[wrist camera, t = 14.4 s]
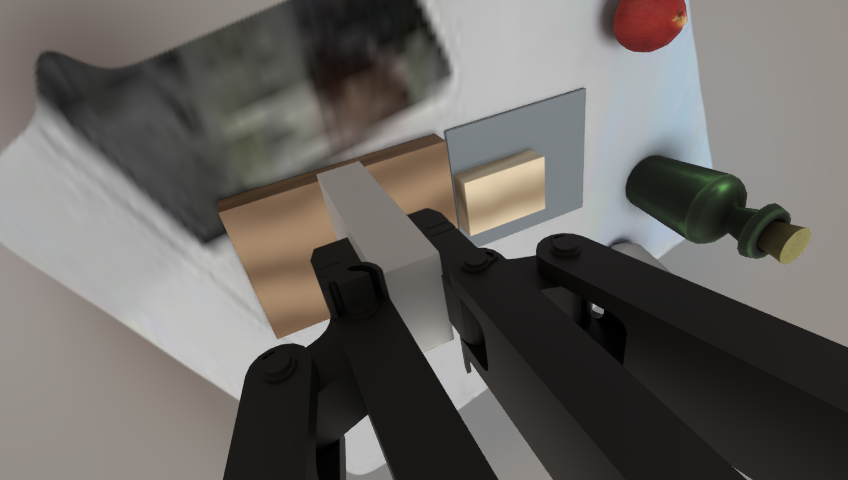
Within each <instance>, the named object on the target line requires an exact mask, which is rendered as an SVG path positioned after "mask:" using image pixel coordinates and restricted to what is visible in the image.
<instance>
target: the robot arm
mask: <svg viewBox="0 0 848 480" xmlns="http://www.w3.org/2000/svg"><path fill="white" fill-rule="evenodd" d="M316 175H317V178H318V181H319V184H320V187H321V191H322V194H323V197H324V200H325V203H326V206H327V209H328V213H329V216H330V219H331V222H332V225H333V228H334V232H335V235H336V238H337V241H335V242H332V243H329V244H326V245H324V246H321V247H318V248H315V249H314V250H313V253H312V256H311V259H310V261H311V264H312V267H313V270H314V272H315V275H316V278H317V281H318V283H319V286H320V289H321V292H322V294H323V297H324V300H325V302H326V305H327V308H328V310H329V313H330V316H331V318H330V323H329V325H328V327H327V329H326V330H325V332H324V333H323V334H322V335H321V336H320V337H319V338H318V339H317V340H315V341H314V342H313V343H312V344H310V345H309V346H307V347H306V348H305V347H304V346H302V345H298V344H294V343H292V344H282V345H279V346H276V347H274V348H271V349H269V350H267V351H266V352H264V353H263V354H261V355H260V356H258V358H257V359H256V360H255V361H254V362H253V363H252V364H251V365H250V367H249V369H248V371H247V374H246V376H245V380H244V385H243V389H242V394H241V398H240V403H239V408H238V413H237V417H236V422H235V426H234V431H233V436H232V440H231V445H230V449H229V454H228V459H227V463H226V468H225V472H224V477H223V480H346V452H345V436H344V434H345V433H346V432H348V431H349V430H350V429H351V428H352V427H354V426H355V425H356V424H357V423H358V422H359V421H361V420H362V419H363V418H364V417H365V416H366V415H368V416H369V418H370V421H371V424H372V426H373V429H374V431H375V434H376V437H377V439H378V442H379V444H380V447H381V450H382V452H383V455H384V457H385V460H386V463H387V465H388V468H389V470H390V473H391V475H392V478H393V480H498V478H497V477H496V475H495V473H494V472H493V470H492V468H491V467H490V465H489V463H488V461H487V460H486V458H485V456H484V455H483V453H482V451H481V450H480V448H479V447H478V445H477V443H476V441H475V440H474V438H473V436H472V435H471V433H470V432H469V430H468V428H467V426H466V425H465V423H464V421H463V420H462V418H461V416H460V415H459V413H458V411H457V410H456V408H455V406H454V405H453V403H452V401H451V400H450V398H449V396H448V395H447V393H446V391H445V389H444V388H443V386H442V384H441V383H440V381H439V379H438V378H437V376H436V374H435V373H434V371H433V369H432V368H431V366H430V364H429V363H428V361H427V359H426V358H425V356H424V354H423V352H426V351H428V350H430V349H432V348H435V347H437V346H439V345H442V344H444V343H446V342H448V341H451V340H453V339H454V335H453V330H452V325H453V326H454V328H455V329H456V330H457V332H458V333H459V334H460V340H461V346H462V352H463V358H464V364H465V368H466V371H467V374H468V373H470V372H471V366H470V362H471V363H472V365H473V366H474V367H475V369H476V370H477V372H478V373H479V375H480V376H481V377H482V379H483V380H484V382H485V383H486V385H487V386H488V387H489V389H490V390H491V392H492V393H493V394H494V396H495V397H496V399H497V400H498V402H499V403H500V405H501V406H502V407H503V409H504V410H505V412H506V413H507V414H508V416H509V417H510V419H511V420H512V422H513V423H514V424H515V426H516V427H517V429H518V430H519V432H520V433H521V435H522V436H523V437H524V439H525V440H526V442H527V443H528V445H529V446H530V447H531V449H532V450H533V452H534V453H535V455H536V456H537V457H538V459H539V460H540V462H541V463H542V465H543V466H544V467H545V469H546V470H547V472H548V473H549V475H550V476H551V477H552V479H553V480H747V479H745V478H744V477H743V476H742V475H741V474H740V473H739V472H738V471H737V470H739V471H740V472H742V473H743V474H745V475H746V476H748V477H749V478H751V479H752V480H848V347H846V346H843V345H841V344H838V343H836V342H834V341H831V340H829V339H826V338H824V337H822V336H819V335H817V334H815V333H812V332H810V331H807V330H805V329H803V328H800V327H798V326H795V325H793V324H791V323H788V322H786V321H784V320H781V319H779V318H776V317H774V316H772V315H769V314H767V313H764V312H762V311H759V310H757V309H755V308H752V307H750V306H748V305H745V304H743V303H740V302H738V301H736V300H733V299H731V298H729V297H726V296H724V295H721V294H719V293H717V292H714V291H712V290H710V289H707V288H705V287H702V286H700V285H698V284H695V283H693V282H690V281H688V280H686V279H683V278H681V277H679V276H676V275H674V274H671V273H669V272H667V271H664V270H662V269H660V268H657V267H655V266H652V265H650V264H648V263H645V262H643V261H640V260H638V259H636V258H633V257H631V256H629V255H626V254H624V253H621V252H619V251H617V250H614V249H612V248H609V247H607V246H605V245H602V244H600V243H598V242H595V241H593V240H590V239H588V238H586V237H583V236H580V235H576V234H568V233H561V234H554V235H550V236H548V237H546V238H544V239H542V240H541V241H540V242H539V243H538V245H537V249H536V255H535V256H529V257H523V258H517V259H505V258H504V257H503V256H502V255H501V254H500V253H498V252H496V251H495V250H492V249H487V248H477V247H476V246H475V245H474V244H473V243H472V242H471V241H470V240H469V239H468V238H467V237H466V236H465V235H464V234H463V233H462V232H461V231H459V230H458V229H457V228H456V227H455V226H454V225H453V224H452V223H451V222H449V220H448V219H447V218H446V217H445V216H444V215H443V214H442V213H441V212H438V211H435V210H433V209H430V208H425V209H422V210H419V211H416V212H413V213H411V214H408V215H406V214H405V213H404V212H403V211H402V209H401V208H400V207H399V206H398V205H397V204H396V203H395V201H394V200H393V199H392V198H391V197H390V196H389V195H388V193H387V192H386V191H385V190H384V189H383V188H382V187H381V185H380V184H379V183H378V182H377V181H376V180H375V179H374V177H373V176H372V175H371V174H370V173H369V172H368V171H367V170H366V168H365V167H364V166H363V165H362V164H361V163H360V162H359V161H357V162H354V163H351V164H348V165H345V166H341V167H338V168H335V169H332V170H329V171H325V172H322V173H319V174H316ZM593 304H595V305H597V306H599V307H601V308H602V309H604V314H600V313H597V312H595V311H593V310H592V305H593ZM451 323H452V324H451ZM732 466H733V467H732ZM735 468H736V469H737V470H736V469H735Z"/></svg>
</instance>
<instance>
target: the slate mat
mask: <svg viewBox="0 0 848 480" xmlns="http://www.w3.org/2000/svg"><path fill="white" fill-rule="evenodd" d="M585 102H586V88H581V89H578V90H575V91H572V92H568V93H565V94H562V95H559V96H555V97H552V98H549V99H546V100H542V101H539V102H536V103H533V104H529V105H526V106H523V107H520V108H516V109H513V110H510V111H507V112H504V113H500V114H497V115H494V116H491V117H487V118H484V119H481V120H478V121H474V122H471V123H468V124H465V125H461V126H458V127H455V128H452V129H448V130H445V131H444V133H445V140H446V145H447V152H448V159H449V166H450V173H451V180H452V187H453V194H454V202H455V209H456V216H457V223H458V230H459V231H461V232H462V233H463V234H464V235H465V236H466V237H467V238H468V239H469V240H470V241H471V242H472V243H473V244H474V245H475V246H476V247H480V246H483V245H485V244H488V243H490V242H493V241H495V240H498V239H501V238H503V237H506V236H508V235H511V234H514V233H516V232H519V231H521V230H524V229H526V228H529V227H532V226H534V225H537V224H539V223H542V222H545V221H547V220H550V219H552V218H555V217H558V216H560V215H563V214H565V213H568V212H570V211H573V210H576V209H578V208H581V207H582V200H583V167H584V135H585ZM529 149H531V150H533V151H535V152H537V153H539V154H541V155H543V156H545V209H543V210H540V211H537V212H535V213H532V214H529V215H527V216H524V217H521V218H519V219H516V220H513V221H510V222H508V223H505V224H502V225H500V226H497V227H494V228H492V229H489V230H486V231H484V232H481V233H478V234H475V235H473V236H470V235H469V234H468V233H467V232H466V231H464V230H463V229H462V228H461V227H460V225H459V218H458V210H457V202H456V195H455V187H454V179H453V174H456V173H459V172H462V171H465V170H468V169H472V168H475V167H478V166H481V165H484V164H487V163H490V162H493V161H496V160H499V159H502V158H505V157H508V156H511V155H514V154H517V153H520V152H523V151H526V150H529Z"/></svg>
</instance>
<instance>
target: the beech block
mask: <svg viewBox="0 0 848 480" xmlns="http://www.w3.org/2000/svg"><path fill="white" fill-rule="evenodd" d="M453 179H454V187H455V195H456V202H457V210H458V218H459V225H460V227H461V228H462V229H463V230H464V231H466V232H467V233H468V234H469V235H470V236H473V235H475V234H478V233H481V232H484V231H486V230H489V229H492V228H494V227H497V226H500V225H502V224H505V223H508V222H510V221H513V220H516V219H519V218H521V217H524V216H527V215H529V214H532V213H535V212H537V211H540V210H543V209H545V156H543V155H541V154H539V153H537V152H535V151H533V150H531V149H529V150H526V151H523V152H520V153H517V154H514V155H511V156H508V157H505V158H502V159H499V160H496V161H493V162H490V163H487V164H484V165H481V166H478V167H475V168H472V169H468V170H465V171H462V172H459V173H456V174H453Z"/></svg>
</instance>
